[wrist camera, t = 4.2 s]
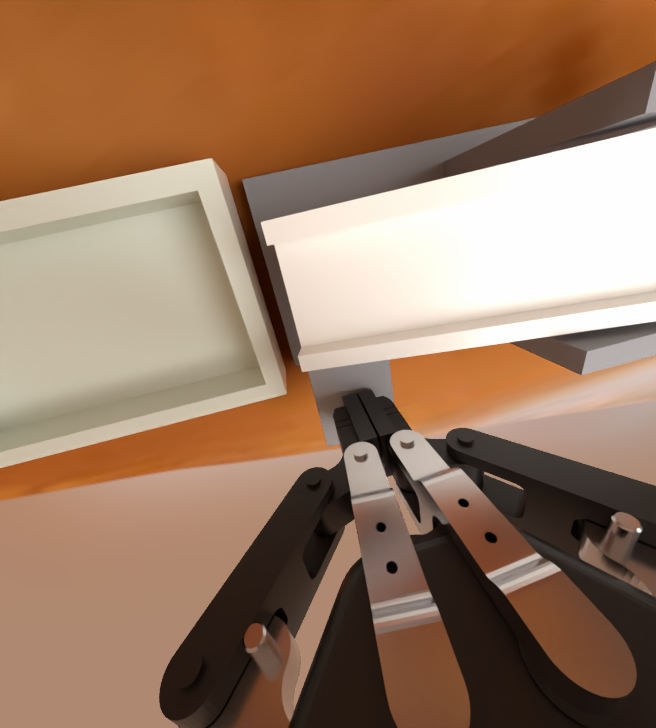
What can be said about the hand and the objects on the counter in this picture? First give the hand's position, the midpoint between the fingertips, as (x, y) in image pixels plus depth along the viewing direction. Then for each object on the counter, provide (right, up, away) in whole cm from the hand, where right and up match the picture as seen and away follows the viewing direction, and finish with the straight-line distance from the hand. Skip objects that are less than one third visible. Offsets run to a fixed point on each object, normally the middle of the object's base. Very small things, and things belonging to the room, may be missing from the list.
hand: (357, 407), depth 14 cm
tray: (-15, +5, +3) cm, 16 cm away
